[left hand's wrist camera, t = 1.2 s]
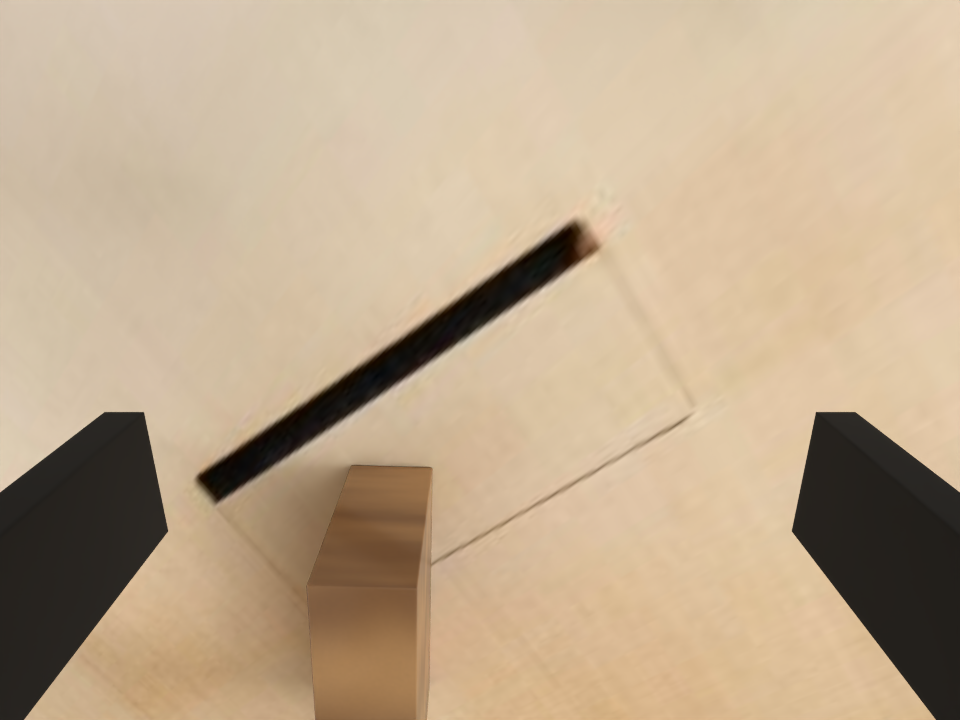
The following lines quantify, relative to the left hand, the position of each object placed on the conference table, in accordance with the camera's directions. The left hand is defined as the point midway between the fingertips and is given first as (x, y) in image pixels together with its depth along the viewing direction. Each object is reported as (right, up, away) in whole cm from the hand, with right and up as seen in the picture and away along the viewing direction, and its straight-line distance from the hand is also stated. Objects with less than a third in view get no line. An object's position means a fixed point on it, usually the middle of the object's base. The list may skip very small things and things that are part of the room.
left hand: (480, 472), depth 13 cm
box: (-7, -15, +35) cm, 39 cm away
